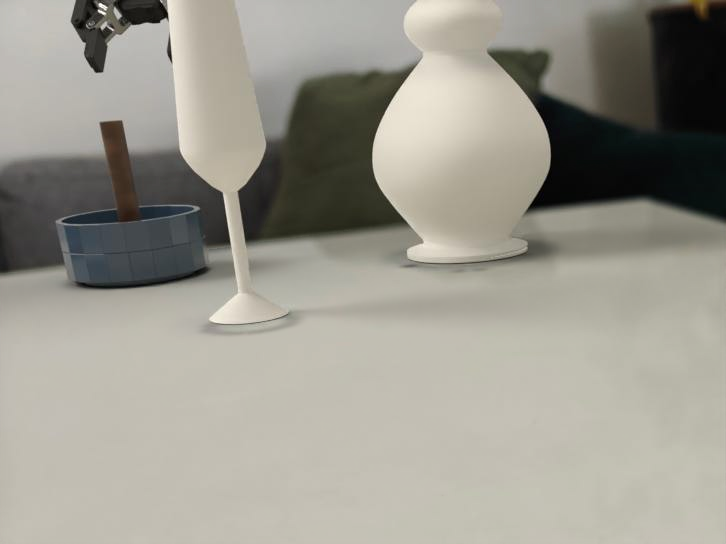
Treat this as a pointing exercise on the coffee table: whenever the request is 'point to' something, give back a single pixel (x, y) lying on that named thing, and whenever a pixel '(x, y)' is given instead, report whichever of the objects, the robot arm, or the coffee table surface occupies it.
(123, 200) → the stirring stick
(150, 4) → the robot arm
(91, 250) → the bowl
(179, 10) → the champagne flute
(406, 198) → the decorative vase
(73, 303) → the coffee table surface
